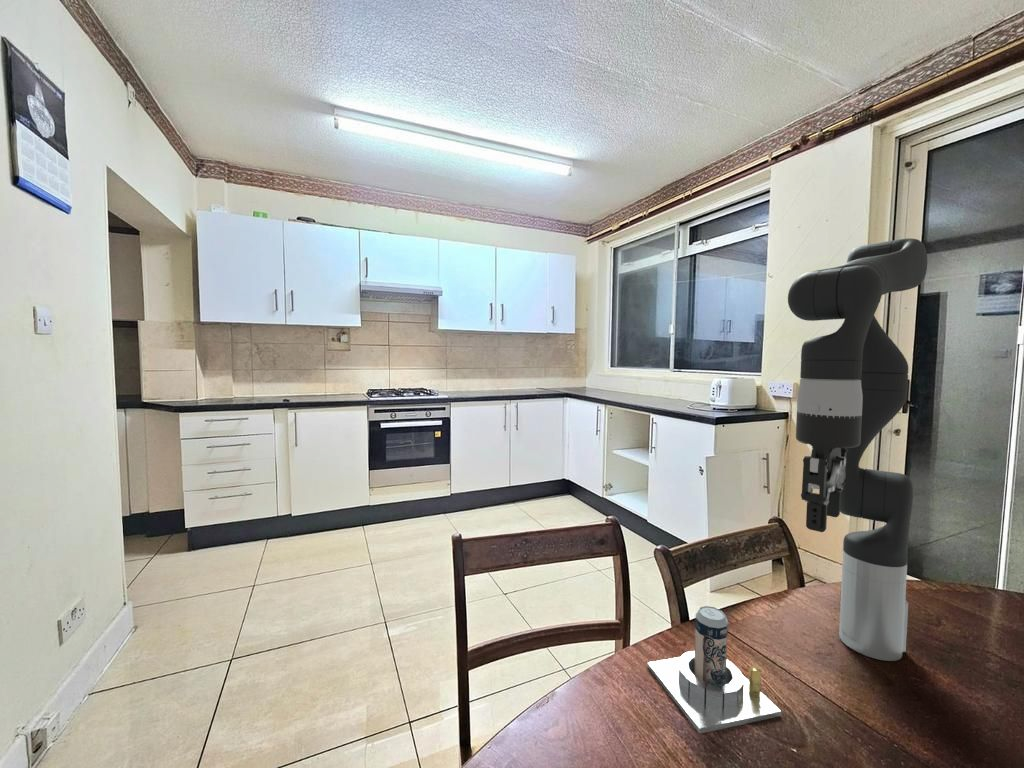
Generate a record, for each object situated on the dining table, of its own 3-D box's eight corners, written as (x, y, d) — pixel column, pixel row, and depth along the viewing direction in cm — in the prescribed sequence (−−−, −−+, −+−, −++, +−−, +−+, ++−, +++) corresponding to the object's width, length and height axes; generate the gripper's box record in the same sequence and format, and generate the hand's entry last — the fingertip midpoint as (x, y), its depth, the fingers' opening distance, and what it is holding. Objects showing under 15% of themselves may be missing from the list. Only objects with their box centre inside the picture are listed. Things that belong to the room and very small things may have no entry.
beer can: (709, 699, 68) (711, 624, 67) (687, 678, 72) (689, 607, 72) (732, 691, 70) (735, 618, 69) (709, 671, 74) (711, 602, 73)
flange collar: (717, 655, 79) (717, 629, 79) (781, 716, 66) (782, 685, 65) (647, 666, 76) (648, 640, 76) (699, 733, 62) (700, 701, 62)
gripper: (851, 417, 55) (845, 544, 55) (870, 409, 64) (865, 517, 65) (783, 412, 60) (778, 528, 61) (810, 405, 70) (806, 505, 71)
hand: (823, 522), depth 63 cm, fingers open, 8 cm apart
